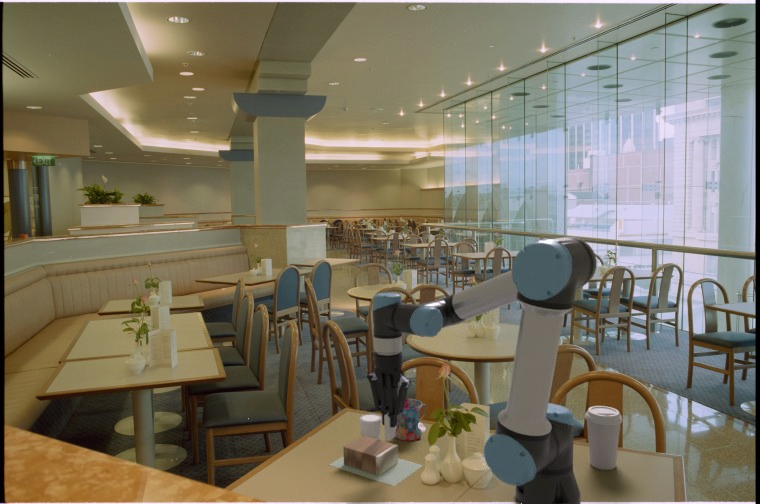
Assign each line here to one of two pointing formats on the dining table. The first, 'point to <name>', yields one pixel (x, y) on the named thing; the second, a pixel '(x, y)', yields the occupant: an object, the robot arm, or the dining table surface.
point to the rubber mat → (389, 476)
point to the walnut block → (371, 455)
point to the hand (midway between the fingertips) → (389, 437)
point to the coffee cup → (603, 436)
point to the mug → (409, 421)
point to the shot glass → (370, 425)
